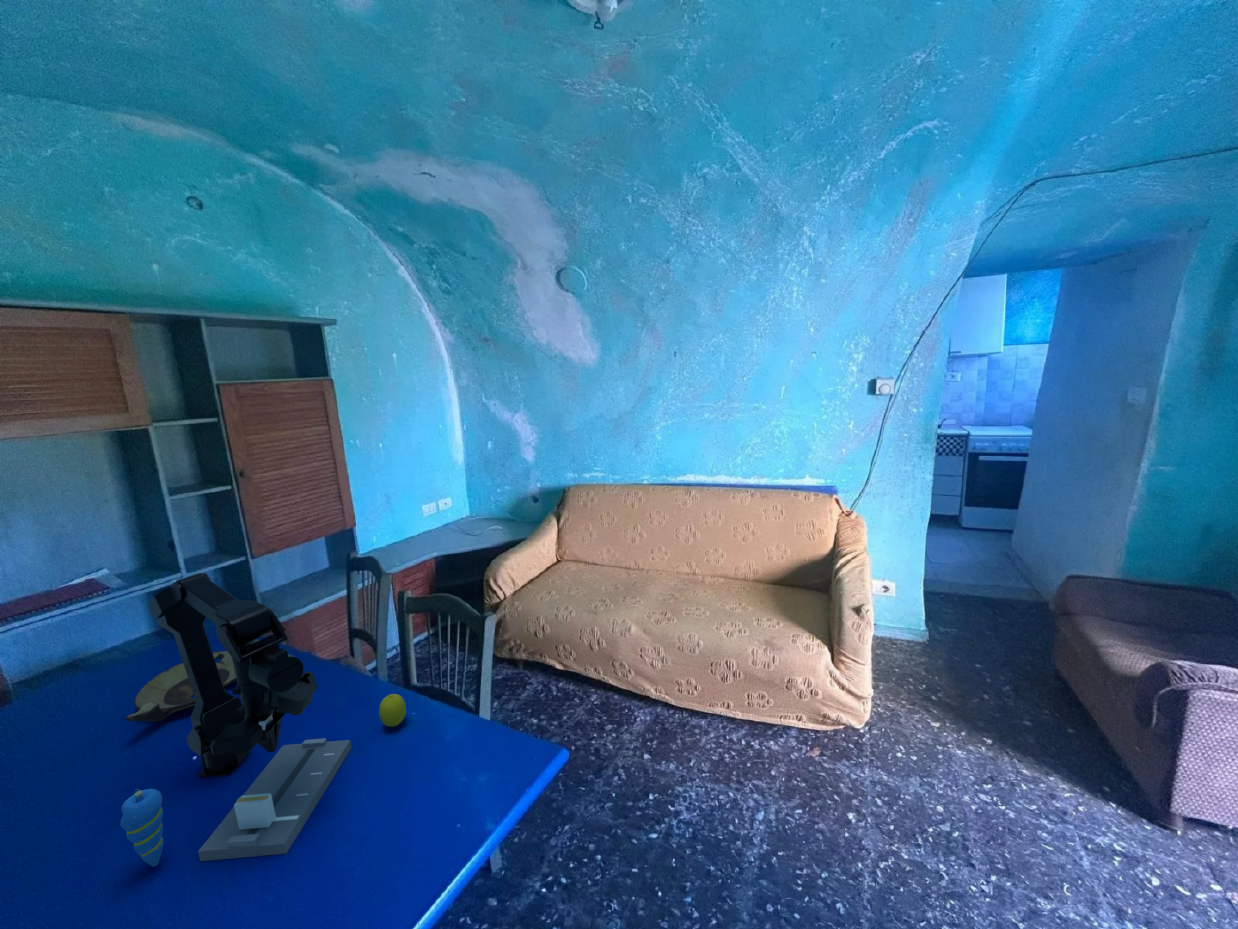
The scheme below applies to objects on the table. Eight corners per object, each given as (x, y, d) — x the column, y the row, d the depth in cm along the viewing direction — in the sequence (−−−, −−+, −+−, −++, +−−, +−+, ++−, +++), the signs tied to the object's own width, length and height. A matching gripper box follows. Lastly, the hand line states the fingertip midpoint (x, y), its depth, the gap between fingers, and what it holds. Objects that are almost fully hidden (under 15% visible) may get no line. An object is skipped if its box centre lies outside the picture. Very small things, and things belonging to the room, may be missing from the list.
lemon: (398, 736, 112) (393, 704, 110) (376, 733, 113) (371, 701, 111) (413, 718, 117) (408, 688, 115) (392, 716, 118) (387, 686, 116)
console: (200, 861, 84) (196, 846, 84) (284, 753, 108) (282, 741, 107) (286, 853, 85) (283, 838, 84) (351, 748, 109) (349, 735, 108)
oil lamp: (274, 671, 139) (269, 646, 137) (148, 751, 110) (140, 721, 109) (214, 661, 145) (208, 637, 143) (80, 735, 116) (72, 706, 115)
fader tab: (239, 829, 87) (233, 804, 86) (247, 819, 89) (241, 794, 88) (269, 827, 88) (263, 802, 87) (276, 817, 90) (270, 792, 89)
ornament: (153, 852, 86) (133, 777, 83) (185, 849, 87) (165, 774, 84) (127, 882, 81) (104, 804, 78) (160, 879, 82) (139, 800, 79)
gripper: (270, 705, 81) (287, 788, 84) (329, 643, 100) (341, 713, 103) (199, 711, 81) (219, 794, 84) (271, 648, 99) (285, 717, 102)
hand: (272, 750), depth 93 cm, fingers closed
